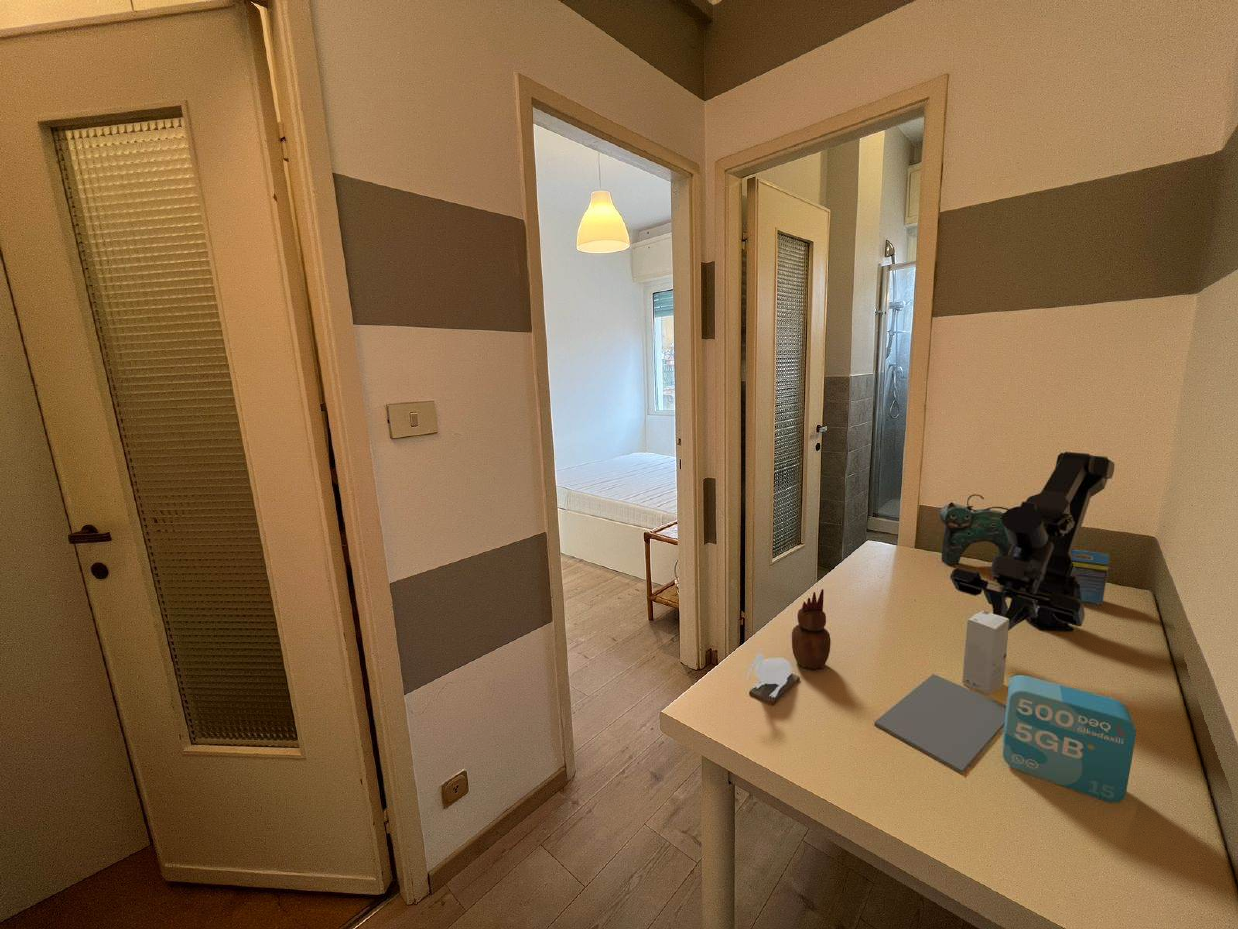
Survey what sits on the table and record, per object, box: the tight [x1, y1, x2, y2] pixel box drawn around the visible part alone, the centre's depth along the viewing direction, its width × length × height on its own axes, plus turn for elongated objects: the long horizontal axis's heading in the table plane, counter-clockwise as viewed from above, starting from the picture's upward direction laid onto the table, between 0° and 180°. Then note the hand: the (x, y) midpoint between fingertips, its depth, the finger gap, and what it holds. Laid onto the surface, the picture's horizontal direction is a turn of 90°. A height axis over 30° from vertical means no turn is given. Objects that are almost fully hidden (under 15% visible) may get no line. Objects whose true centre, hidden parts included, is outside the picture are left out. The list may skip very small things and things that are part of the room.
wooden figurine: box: [791, 588, 832, 670], centre depth 91 cm, size 7×6×15 cm
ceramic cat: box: [939, 493, 1012, 567], centre depth 134 cm, size 20×6×20 cm, turn 80°
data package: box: [1002, 674, 1137, 804], centre depth 65 cm, size 12×4×12 cm, turn 53°
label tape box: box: [1071, 549, 1110, 606], centre depth 113 cm, size 9×4×12 cm, turn 58°
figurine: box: [746, 653, 801, 707], centre depth 84 cm, size 14×4×9 cm, turn 134°
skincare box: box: [961, 610, 1009, 696], centre depth 84 cm, size 6×4×12 cm
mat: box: [873, 673, 1007, 774], centre depth 77 cm, size 20×12×1 cm, turn 125°
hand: (996, 635), depth 87 cm, fingers closed
